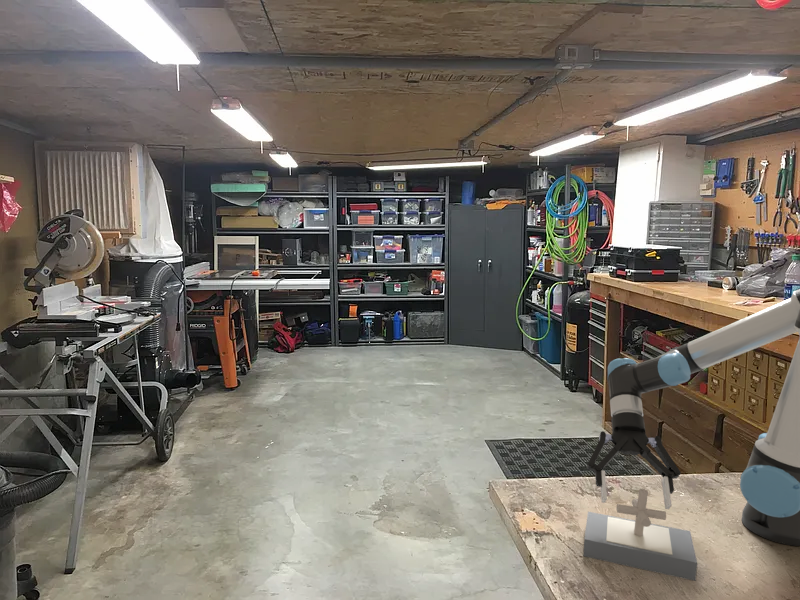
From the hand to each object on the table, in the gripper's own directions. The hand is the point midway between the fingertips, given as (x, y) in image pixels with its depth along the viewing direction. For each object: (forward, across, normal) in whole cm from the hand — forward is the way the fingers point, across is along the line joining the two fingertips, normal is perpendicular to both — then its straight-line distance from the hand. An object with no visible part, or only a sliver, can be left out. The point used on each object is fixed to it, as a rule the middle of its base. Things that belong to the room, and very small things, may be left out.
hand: (636, 504), depth 124 cm
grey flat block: (+9, 0, -6) cm, 10 cm away
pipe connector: (+6, 0, -3) cm, 6 cm away
